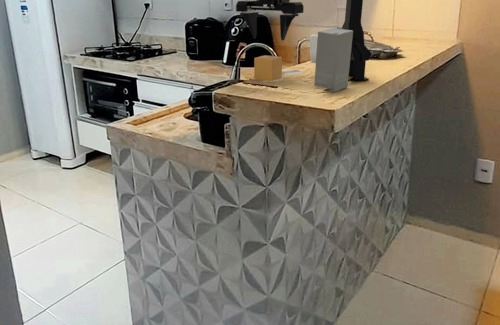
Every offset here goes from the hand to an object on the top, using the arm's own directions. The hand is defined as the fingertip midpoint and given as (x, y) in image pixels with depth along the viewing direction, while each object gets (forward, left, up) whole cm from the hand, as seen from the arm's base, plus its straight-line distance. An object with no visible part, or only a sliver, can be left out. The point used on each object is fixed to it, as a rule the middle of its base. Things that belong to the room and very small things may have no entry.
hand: (268, 39), depth 138 cm
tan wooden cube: (0, 0, -11) cm, 11 cm away
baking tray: (+44, -53, -13) cm, 70 cm away
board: (+4, -4, -12) cm, 14 cm away
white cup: (+27, -27, -13) cm, 40 cm away
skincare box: (-12, -15, -13) cm, 23 cm away
